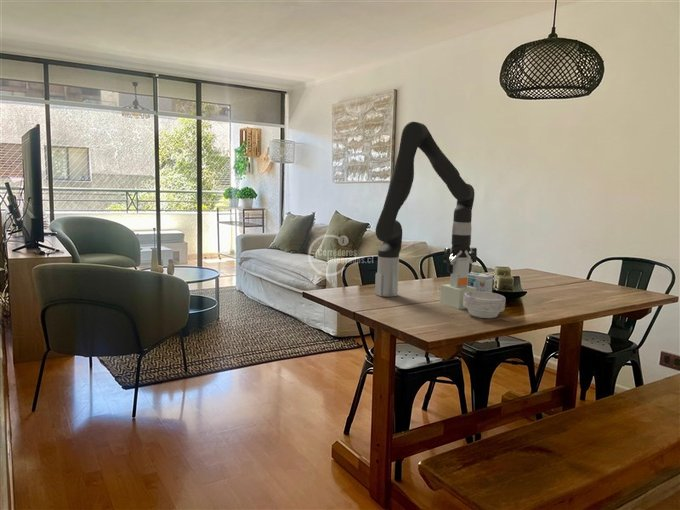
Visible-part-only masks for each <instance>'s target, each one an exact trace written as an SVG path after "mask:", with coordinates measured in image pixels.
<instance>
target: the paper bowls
mask: <svg viewBox="0 0 680 510" xmlns="http://www.w3.org/2000/svg"><path fill="white" fill-rule="evenodd" d="M506 301H507V300H506V297H505V296H504V295H502V294H499V293H496V292H492V293H491V292H482V291H470V292H466V293H464V299H463V306H464V307H465V308H464V309H467V311H468V314H469V315H470V316H472V317H475V318H479V319H493V318H497V317H498V316H499V315H500V313H502V312H504V311H505V309H506V308H505V307H506Z"/></svg>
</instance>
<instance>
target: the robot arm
mask: <svg viewBox="0 0 680 510" xmlns="http://www.w3.org/2000/svg"><path fill="white" fill-rule="evenodd" d="M418 149H419V150H420V151H422V152H423V154H424V155H425V156H426V157H427V159H428V160H429V162H430V165H431V167H432V169H433V170H434V171H435V173H436V174H437V175H438V177H439V178H440V179H441V180H442V182H443V183H445V185H446V187H447V189H448V190H449V192H450V193H451V195H452V197H453V198H454V199H456V207H455V208H454V211H453V220H452V221H453V222H452V227H451V247H450V248H449V247H444V250H443V261H442V262H443V263H446V264H447V269H446V271H447V274H450V275H451V274H452V273H453V265H452V264H453V263H454V261H456V260H457V258H466V257H467V258H470V263H469V273H470V272H471V270H473V269H472V267H473V263H477V261H478V260H477V258H478V256H477V255H478V254H477V253H478V249H477V247H473V246H471V243H472V218H473V217H472V216H473V215H472V213H473V212H472V210H473V207H474V201H475V189H474V186H472V185H471V184H470V183H467V182H466V181H465V180H464V179H463V178H462V177H461V175H460V172H459V170H458V169H457V168H456V167H455V166H454V164H453V163H452V162H451V161H450V159H449V158H448V157H447V156H446V154H445V153H444V152H443V151H442V149H441V148H440V147H439V145H438V144H437V142H436V141H435V140H434V137H433V135H432V134H431V132H430V130H429V129H428V127H427V125H426V124H424V123H421V122H419V121H409V122H408V123H406V124H405V125H404V127H403V129H402V131H401V136H400V141H399V147H398V153H397V157H396V159H395V163H394V164H395V165H394V168H393V172H392V174H391V178H390V182H389V186H388V190H387V194H386V197H385V200H384V204H383V207H382V210H381V212H380V216H379V218H378V220H377V223H376V225H375V226H376V227H375V235H376V238H377V240H379V241H381V242H383V243H382V245H381V247H380V248H379V249H378V251H377V272H375V280H374V282H375V284H374V287H375V288H374V294H375V295H377V296H379V297H387V298H389V297H390V298H391V297H397V296H398V294H399V293H398V291H399V288H398V287H399V265H400V263H399V262H400V252H401V250H402V242H403V227H402V224H401V222H399V220H397V217H398V213H399V211H400V210H401V208H402V206H403V205H404V204H405V202H406V200H407V199H408V197H409V196H410V193H411V190H412V187H413V184H414V183H413V182H414V179H415V157H416V153H417V151H418ZM470 246H471V247H470Z"/></svg>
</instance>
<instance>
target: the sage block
mask: <svg viewBox="0 0 680 510" xmlns="http://www.w3.org/2000/svg"><path fill="white" fill-rule="evenodd" d="M476 289H477V288H475V287H471V286H467V287H454V286H450V283H447V284H446V283H445V284H440V296H439V297H440V299H439V300H440V301H439V303H441V305H443V306H444V305H445V306H447V307H451V308H454V309H458V310H463V309H466V308H465V307H464V306H463V299H464V293H466V292H470V291H476Z"/></svg>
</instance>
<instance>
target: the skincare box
mask: <svg viewBox="0 0 680 510" xmlns="http://www.w3.org/2000/svg"><path fill="white" fill-rule="evenodd" d="M469 263H470V258H467V257H466V258H457V260H456V261H454V263H453V264H452V265H453V273H452V274H450V279H449V284H450V286H454V287H467V285H468V274H469Z"/></svg>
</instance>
